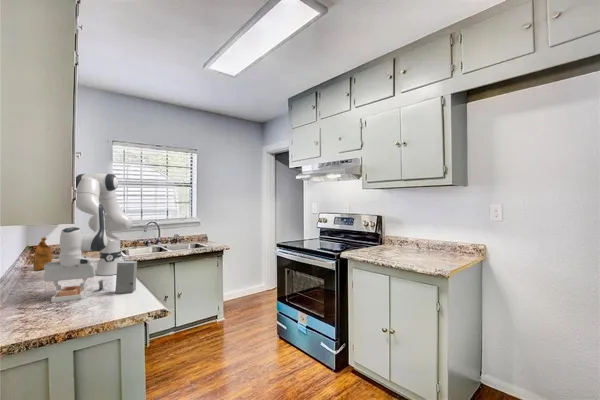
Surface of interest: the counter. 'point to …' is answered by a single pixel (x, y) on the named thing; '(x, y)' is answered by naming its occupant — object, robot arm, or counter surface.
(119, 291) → the skincare box
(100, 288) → the stake
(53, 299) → the tray
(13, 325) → the counter surface
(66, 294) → the brown open box
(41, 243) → the coffee package
